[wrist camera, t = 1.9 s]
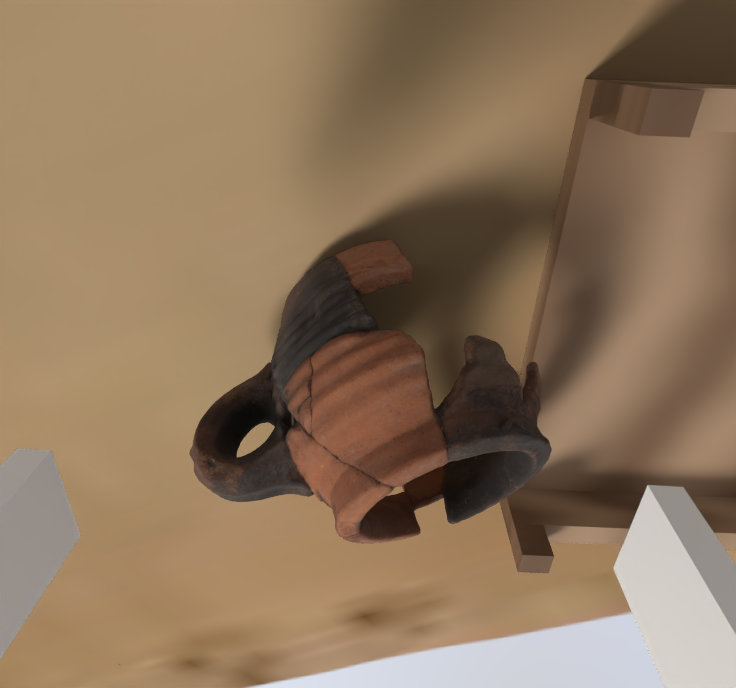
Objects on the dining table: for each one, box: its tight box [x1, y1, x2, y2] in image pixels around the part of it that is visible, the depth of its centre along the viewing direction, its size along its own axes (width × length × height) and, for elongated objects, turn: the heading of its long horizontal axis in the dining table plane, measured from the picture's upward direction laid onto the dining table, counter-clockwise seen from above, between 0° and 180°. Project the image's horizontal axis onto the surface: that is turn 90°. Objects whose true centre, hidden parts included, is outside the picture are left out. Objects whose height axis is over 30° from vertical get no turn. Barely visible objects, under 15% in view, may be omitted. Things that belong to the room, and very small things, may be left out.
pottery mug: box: [190, 240, 552, 544], centre depth 19 cm, size 12×9×8 cm
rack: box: [500, 79, 736, 573], centre depth 18 cm, size 12×17×4 cm
